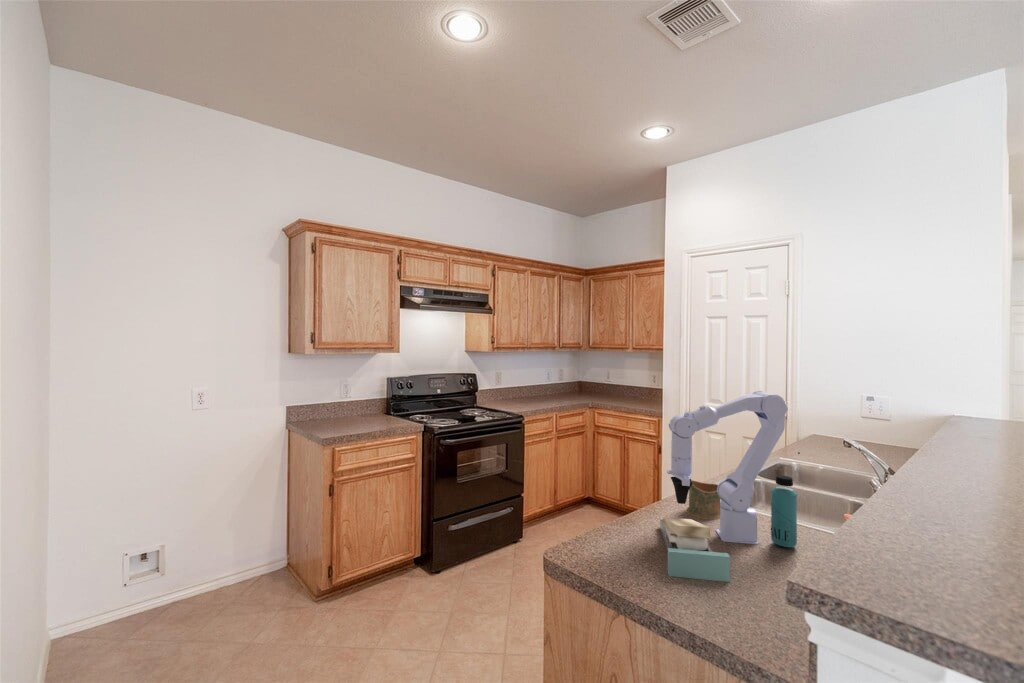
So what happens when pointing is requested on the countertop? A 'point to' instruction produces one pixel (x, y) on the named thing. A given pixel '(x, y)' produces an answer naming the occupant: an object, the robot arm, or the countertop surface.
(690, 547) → the roller
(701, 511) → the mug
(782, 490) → the beverage bottle
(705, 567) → the rail
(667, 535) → the roller track
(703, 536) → the slab
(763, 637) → the countertop surface
